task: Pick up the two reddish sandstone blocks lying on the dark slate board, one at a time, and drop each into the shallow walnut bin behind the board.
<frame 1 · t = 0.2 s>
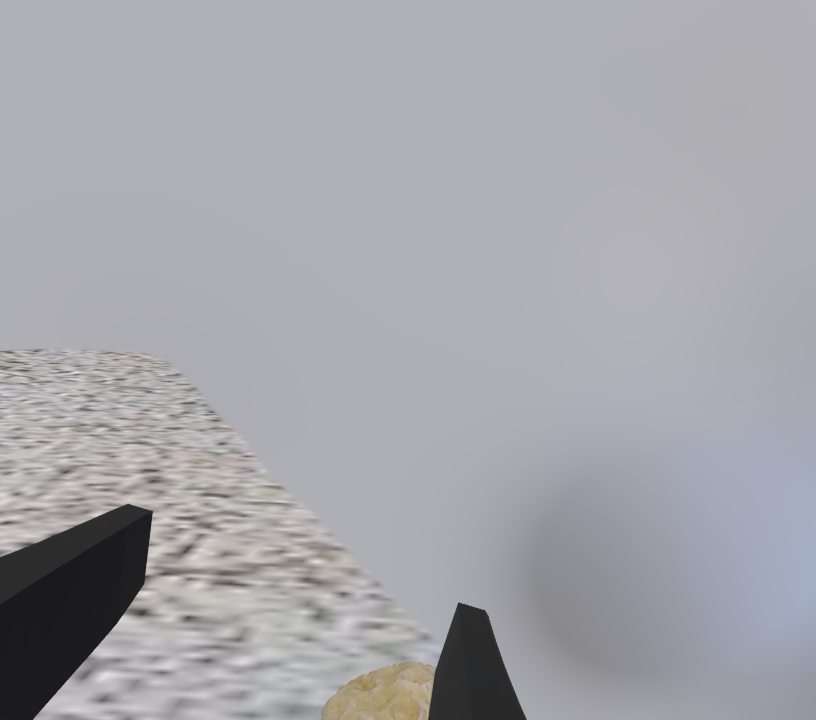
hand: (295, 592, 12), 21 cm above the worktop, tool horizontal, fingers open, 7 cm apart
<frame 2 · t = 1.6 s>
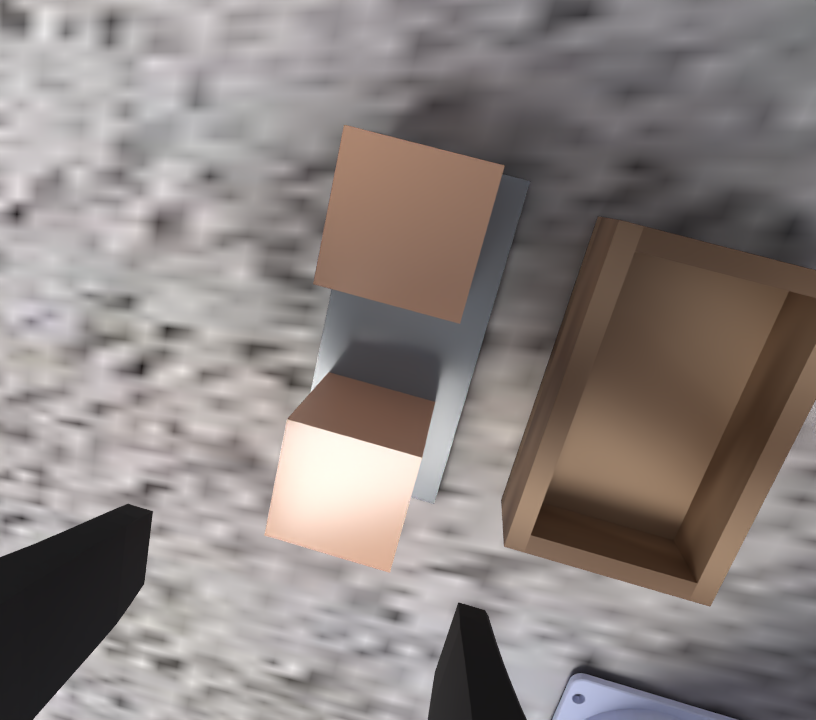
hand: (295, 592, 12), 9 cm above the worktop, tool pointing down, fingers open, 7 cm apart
walnut bin: (641, 396, 20), on the worktop
stone a: (369, 435, 21), point 1 cm above the worktop, touching slate board
stone b: (422, 220, 18), point 1 cm above the worktop, touching slate board
slate board: (404, 331, 20), on the worktop
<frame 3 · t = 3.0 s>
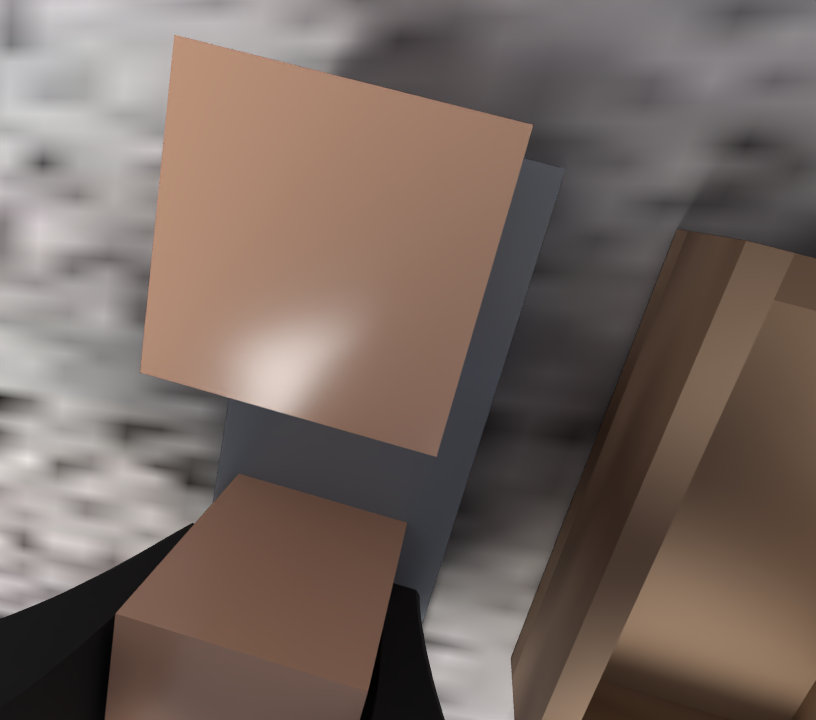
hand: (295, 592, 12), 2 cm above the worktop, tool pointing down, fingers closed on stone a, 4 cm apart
walnut bin: (737, 516, 12), on the worktop
stone a: (306, 569, 13), point 1 cm above the worktop, touching gripper, slate board
stone b: (381, 236, 11), point 1 cm above the worktop, touching slate board
slate board: (359, 409, 13), on the worktop
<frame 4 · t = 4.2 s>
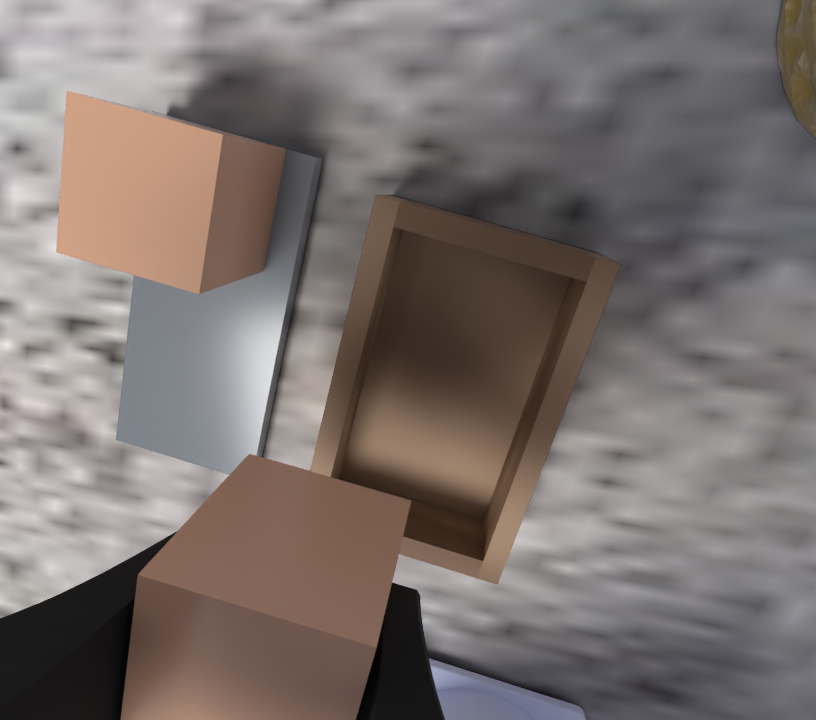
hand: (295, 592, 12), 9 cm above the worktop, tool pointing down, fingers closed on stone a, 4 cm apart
walnut bin: (447, 376, 20), on the worktop
stone a: (313, 546, 14), point 7 cm above the worktop, touching gripper
stone b: (216, 195, 18), point 1 cm above the worktop, touching slate board
slate board: (216, 308, 20), on the worktop
when the fingers open (4 cm above the worktop, at t = 5.5 s): stone a drops 2 cm, resting on walnut bin.
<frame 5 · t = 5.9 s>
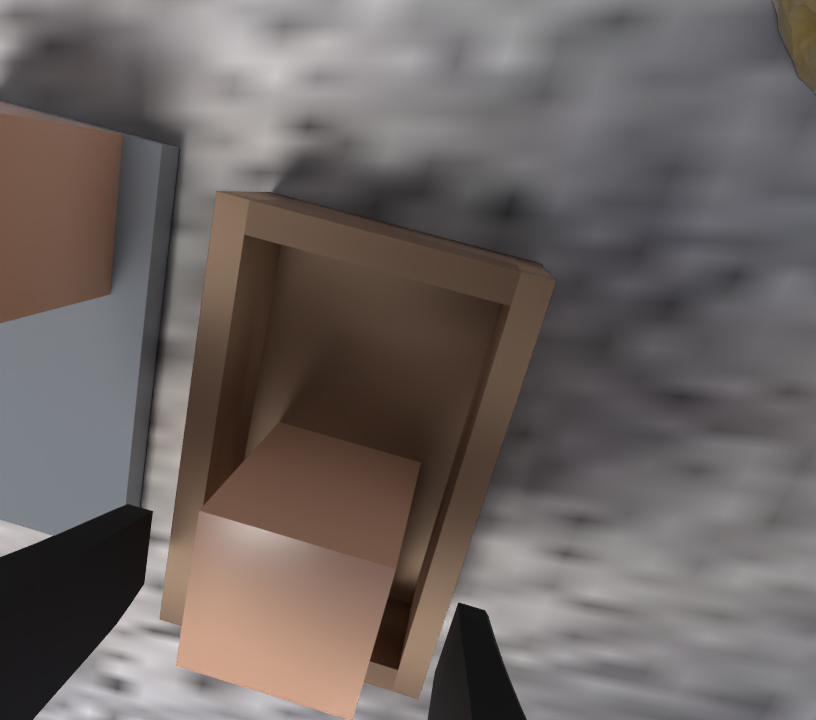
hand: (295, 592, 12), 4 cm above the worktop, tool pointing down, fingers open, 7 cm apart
walnut bin: (357, 423, 16), on the worktop
stone a: (334, 504, 16), point 1 cm above the worktop, touching walnut bin
stone b: (41, 197, 14), point 1 cm above the worktop, touching slate board
slate board: (65, 340, 16), on the worktop
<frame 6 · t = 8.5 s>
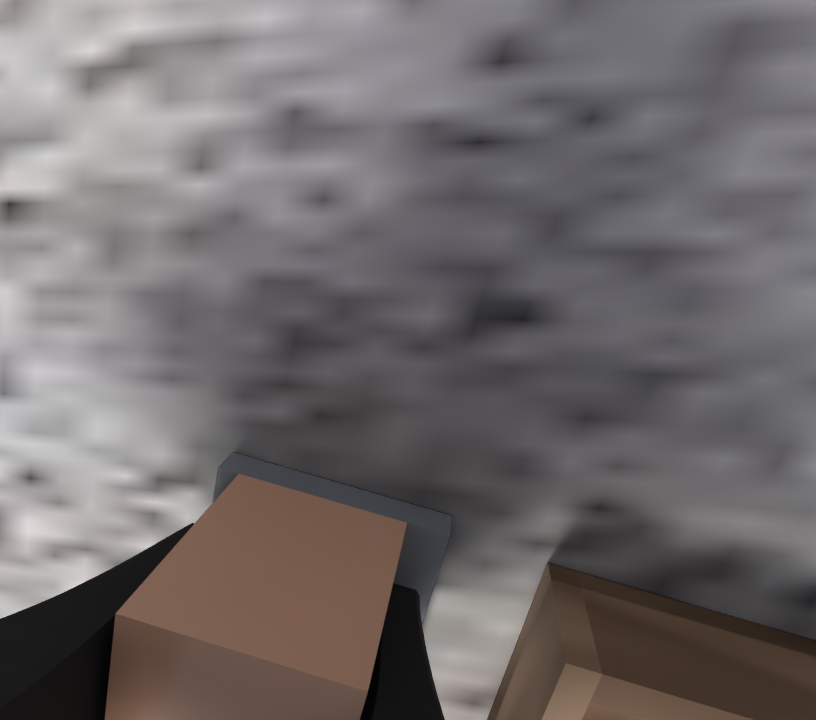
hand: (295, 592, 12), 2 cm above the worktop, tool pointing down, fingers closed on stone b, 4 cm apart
stone b: (306, 569, 13), point 1 cm above the worktop, touching gripper, slate board
slate board: (296, 671, 15), on the worktop
when the fingers open (4 cm above the worktop, at t = 11.0 s): stone b drops 2 cm, resting on walnut bin.
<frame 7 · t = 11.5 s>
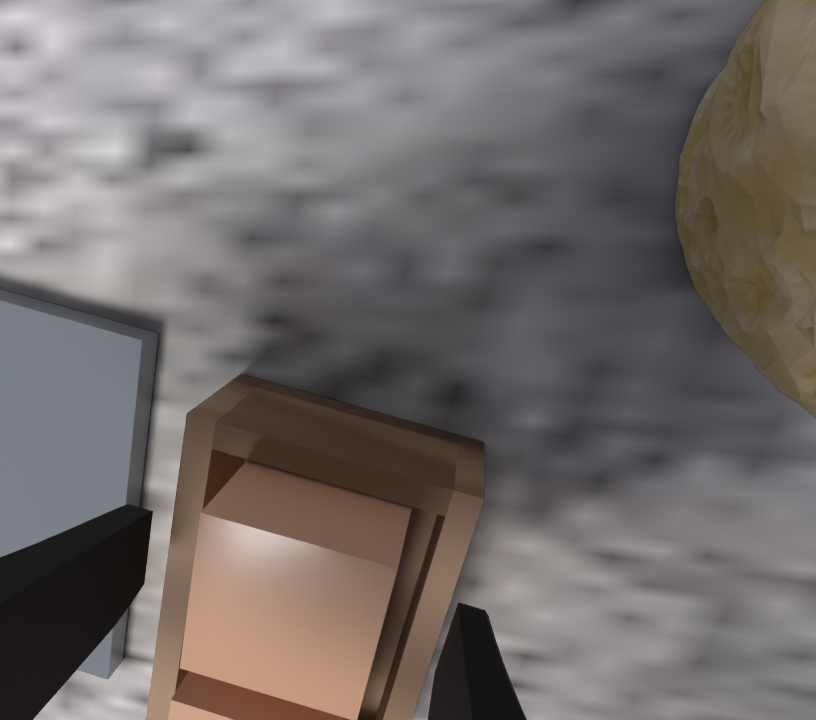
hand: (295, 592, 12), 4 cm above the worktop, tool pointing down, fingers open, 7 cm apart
walnut bin: (322, 568, 17), on the worktop
stone a: (302, 641, 17), point 1 cm above the worktop, touching walnut bin
stone b: (336, 505, 16), point 1 cm above the worktop, touching walnut bin
slate board: (56, 489, 18), on the worktop
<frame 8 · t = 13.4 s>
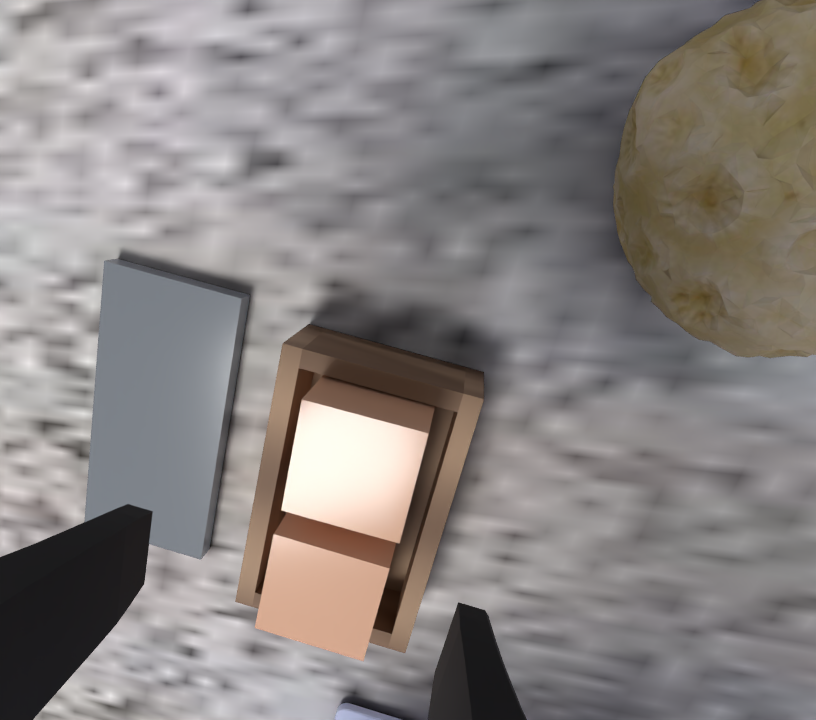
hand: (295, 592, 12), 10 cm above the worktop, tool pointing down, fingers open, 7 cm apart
coral: (728, 185, 19), on the worktop
walnut bin: (364, 471, 23), on the worktop
stone a: (349, 525, 23), point 1 cm above the worktop, touching walnut bin
stone b: (377, 419, 22), point 1 cm above the worktop, touching walnut bin
slate board: (166, 413, 24), on the worktop
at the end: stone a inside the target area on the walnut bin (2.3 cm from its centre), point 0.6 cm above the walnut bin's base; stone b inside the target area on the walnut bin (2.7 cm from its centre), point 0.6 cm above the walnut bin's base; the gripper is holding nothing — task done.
